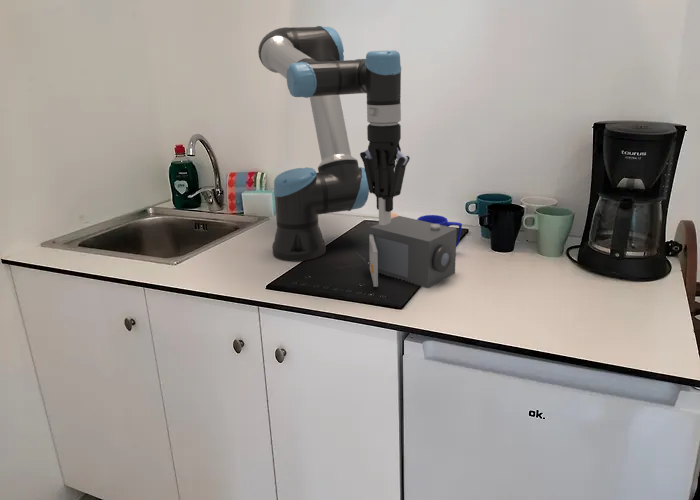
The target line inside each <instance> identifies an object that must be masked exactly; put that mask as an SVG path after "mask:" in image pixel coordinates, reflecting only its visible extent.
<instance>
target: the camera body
mask: <svg viewBox="0 0 700 500" xmlns="http://www.w3.org/2000/svg"><path fill="white" fill-rule="evenodd" d="M457 232H458V229H457V228H455V227H451V226H449V227H447V226H443V225H440V224H434V223H429V222H425V221H420V220H417V219H415V218H411V217H406V216H402V215H399V216H397V217H394V218H392V219H391V223H389V224H387V225H379V223H377V224H373V225H372V226H370V227H369V235H370V234H373V237H374V241H375V244H376V248H377V251H378V274H380V273H381V275H383V274H384V275H383V276H387V277H390V276H391V277H390V278H393V277H394V279H396V278H397V279H396V280H399V279H401V280H400V281H403V280H405V281H404V282H406V281H408V282H407V283H409V282H411V283H410V284H412V283H414V284H413V285H415V284H418V285H417V286H419V285H420V286H419V287H421V288H422V287H423V288H426V289H429V288H431V287H433V286H436V284H438V283H441V282H442V281H443V280H445V279H447V278H449V277H451V276H453V275H454V274H455V273H456V260H457V259H456V257H457V256H456V255H457V247H456V241H457V236H458V233H457Z"/></svg>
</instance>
